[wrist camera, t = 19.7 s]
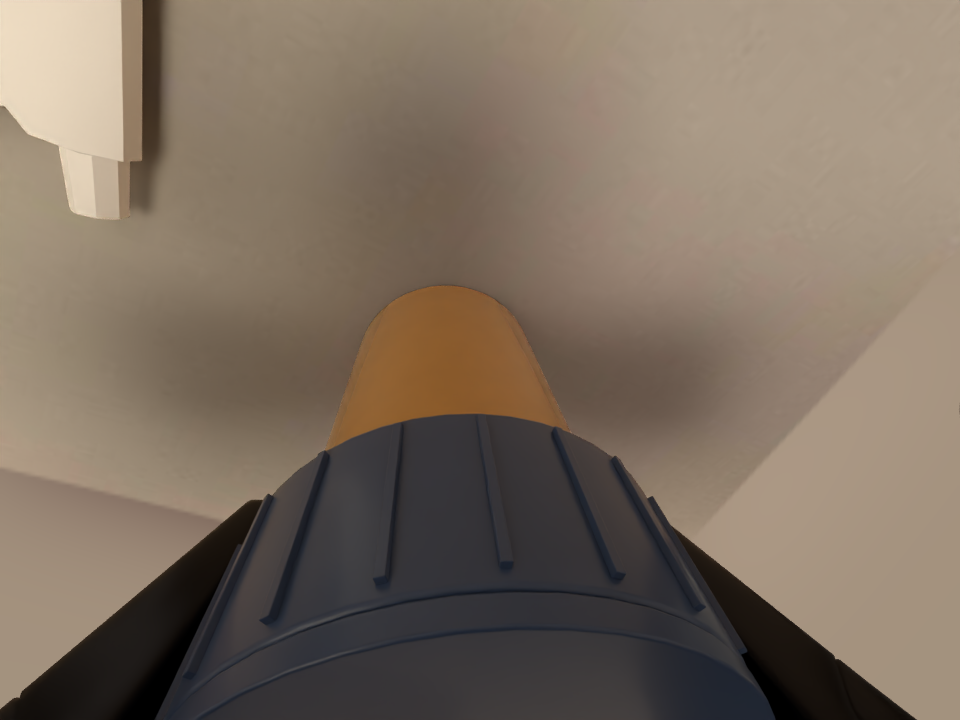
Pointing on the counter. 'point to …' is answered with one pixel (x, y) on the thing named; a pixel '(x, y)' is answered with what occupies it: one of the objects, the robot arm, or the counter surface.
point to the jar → (443, 365)
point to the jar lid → (463, 591)
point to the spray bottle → (78, 91)
